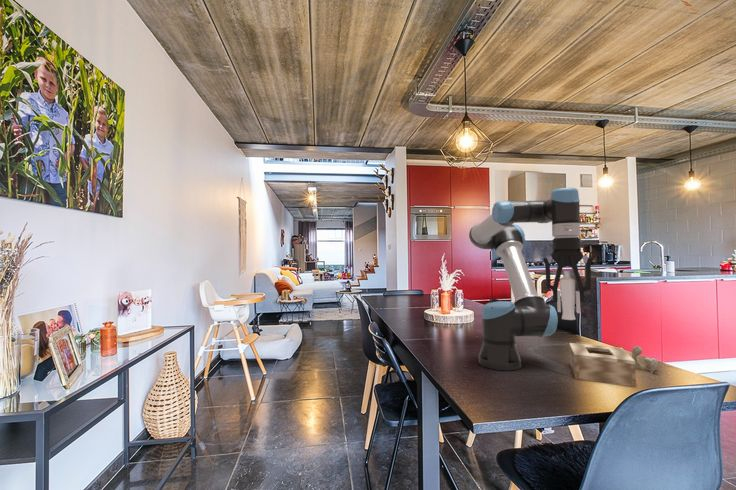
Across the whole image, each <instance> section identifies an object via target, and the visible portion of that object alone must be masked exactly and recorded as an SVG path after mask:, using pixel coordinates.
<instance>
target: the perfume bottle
mask: <svg viewBox="0 0 736 490" xmlns="http://www.w3.org/2000/svg"><path fill="white" fill-rule="evenodd" d="M562 271H563V272H562V273H563V276H562V277H560V281H559V290H560V300H561V312H562V315H561V320H565V321H566V320H567V321H575V320H577V319H576V315H575V308H576V306H575V305H576V289H577V287H576V286H577V283H576V280H575V278H573V277H572V276H571V270H562Z"/></svg>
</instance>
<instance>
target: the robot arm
mask: <svg viewBox="0 0 736 490" xmlns="http://www.w3.org/2000/svg"><path fill="white" fill-rule="evenodd" d="M580 201H581V199H580V195H579V190H578V189H577V188H575V187H560V188H555V189H553V190H552V191H551V193H550V199H547V200H546V199H544V200H503V201H496V202H494V204H493V207H492V208H491V214H490V215H489V216H487V217H486V218H485V219H483V220H482V221H481V222H479V223H477V222H476V223H475V224H474V225H473V226H472V227H471V228H470V229H469V233H468V237H469V240H470V242H471V243H472V245H474V246H475V247H476V248H479V249H481V250H494V251H495V254H496V255H497V256H498V257H500V258H501V261H502V265H503V266H504V270H505V273H506V277H507V279H508V282H509V285H510V288H511V291H512V292H511V293H512V294H513V297H514V302H513V301H509V300H508V301H507V300H506V301H505V300H504V301H502V300H500V301H493V302H488V303H486V304H484V305H483V306H482V311H481V320H482V321H481V323H482V324H481V325H482V344H481V348H480V351H479V354H478V363H479V365H480V366H482V367H484V368H488V369H491V370H497V371H506V372H507V371H517V370H519V369H521V368H522V360H521V359H522V358H521V357H520V354H519V351H518V348H517V345H516V343H517V342H516V337H538V338H539V337H540V338H542V337H548V336H549V337H550V336H553V334H555V332H556V331H557V328H558V322H559V320H558V318H559V317H558V313H562V301H561V291H560V289H559V290H558V288H559V286H560V279H561V275H562V273H563V272H562V271H563V268H566V267H568V268H571V270H572V273H573V276H574V279H575V280H576V286H577V287H576V288H577V289H578V290H575V305H576V306H575V308H576V309H575V311H576V313H577V314H581V303H584V302H585V291H590V290H591V289H592V275H591V274H592V273H591V272H592V269H591V267H592V266H591V265H592V264H593V260H594V258H593V257H590V256H589V257H588V256H587V255H586V256H585V255H584V254H583V253H582V249H581V248H582V245H581V242H582V241H581V237H580V236H581V224H580V221H581V219H580V218H581V217H580V216H581V215H580V213H581V211H580ZM516 223H517V224H516ZM518 223H519V224H520V223H523V224H524V223H525V224H526V223H537V224H548V223H551V230H552V231H551V234H552V237H553V239H552V253H551V255H550V256H547V257H543V258H542V261H543V263H544V268H545V269H544V270H545V286H546V289H549V290H552V299H553V301H554V302H556V307H557V308H556V307H554V306H553V305H551V304H547V303H546V301H545V298H544V297H543V296H541V295H538V291H537V289H536V286H535V284H534V282H533V279H532V277H531V273H530V271H529V268H528V266H527V264H526V261H525V258H524V255H523V253H522V251H523V249H524V246H525V243H526V238H525V236H526V234H525V231H524V230H523V228H522V227H521V226H520V225H518ZM552 260H553V261H554V262H555V263H556V265H557V266H556V267H557V268H556V273H555V275H554V280H553V284H551V265H550V264H551V263H552ZM581 260H583V263H584V285H583V282H582V278H581V275H580V271H579V268H578V264H579V263H580V262H581ZM556 309H557V310H556Z"/></svg>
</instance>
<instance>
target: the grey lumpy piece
mask: <svg viewBox="0 0 736 490" xmlns="http://www.w3.org/2000/svg"><path fill="white" fill-rule="evenodd" d="M642 351H643V349H642V348H641V346H638V345H637V346H633V347H632V349H631V357H632V358H633V359H634V360H635V368H636V370H637V369H638V370H643V371H647V372H650V373H651V374H654V371H656V370H657V369H658V367H659V365H660V364H659V362H658V360H657V359H656V358H654V357H653V358H650V357H647V356H646V357H644V362H645V363H646V364H647V365H643V364H641V363H640V362H639V361H638V359H637V357H638V356H640V355H641V354H642Z"/></svg>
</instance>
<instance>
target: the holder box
mask: <svg viewBox="0 0 736 490" xmlns="http://www.w3.org/2000/svg"><path fill="white" fill-rule="evenodd" d="M568 344H569V345H568V346H569V364H570V367H571V371H572V373H573V377H574V378H575V379H577V380H582V381H583V380H584V381H590V382H598V383H604V384H611V385H612V384H613V385H619V386H626V387H635V388H637V374H636V370H637V369H636V368H635V360H634V359H633V358H632V355H630V353H628V352H627V351H626V350H625V349H624V348H623V347H617V346H608V345H607V346H606V345H595V344H587V343H586V344H585V343H576V342H575V343H573V342H569V343H568Z"/></svg>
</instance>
